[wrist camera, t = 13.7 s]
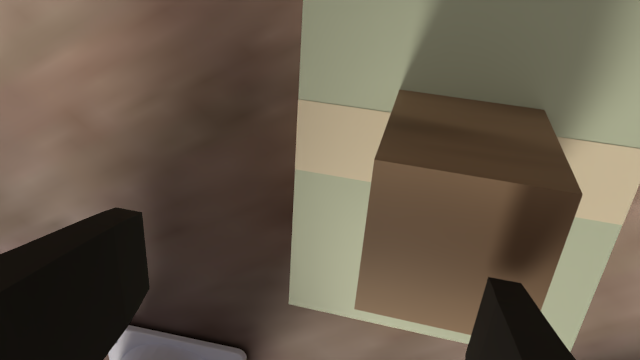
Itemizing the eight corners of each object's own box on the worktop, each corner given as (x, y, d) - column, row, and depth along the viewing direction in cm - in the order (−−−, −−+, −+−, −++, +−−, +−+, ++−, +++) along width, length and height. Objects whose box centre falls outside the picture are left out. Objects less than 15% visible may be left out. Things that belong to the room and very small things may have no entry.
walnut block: (508, 230, 16) (527, 347, 11) (381, 207, 16) (354, 309, 12) (544, 109, 14) (582, 194, 10) (399, 89, 15) (374, 159, 10)
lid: (560, 348, 18) (565, 365, 18) (294, 290, 20) (288, 304, 19) (735, -92, 12) (752, -93, 11) (316, -118, 14) (308, -120, 13)
